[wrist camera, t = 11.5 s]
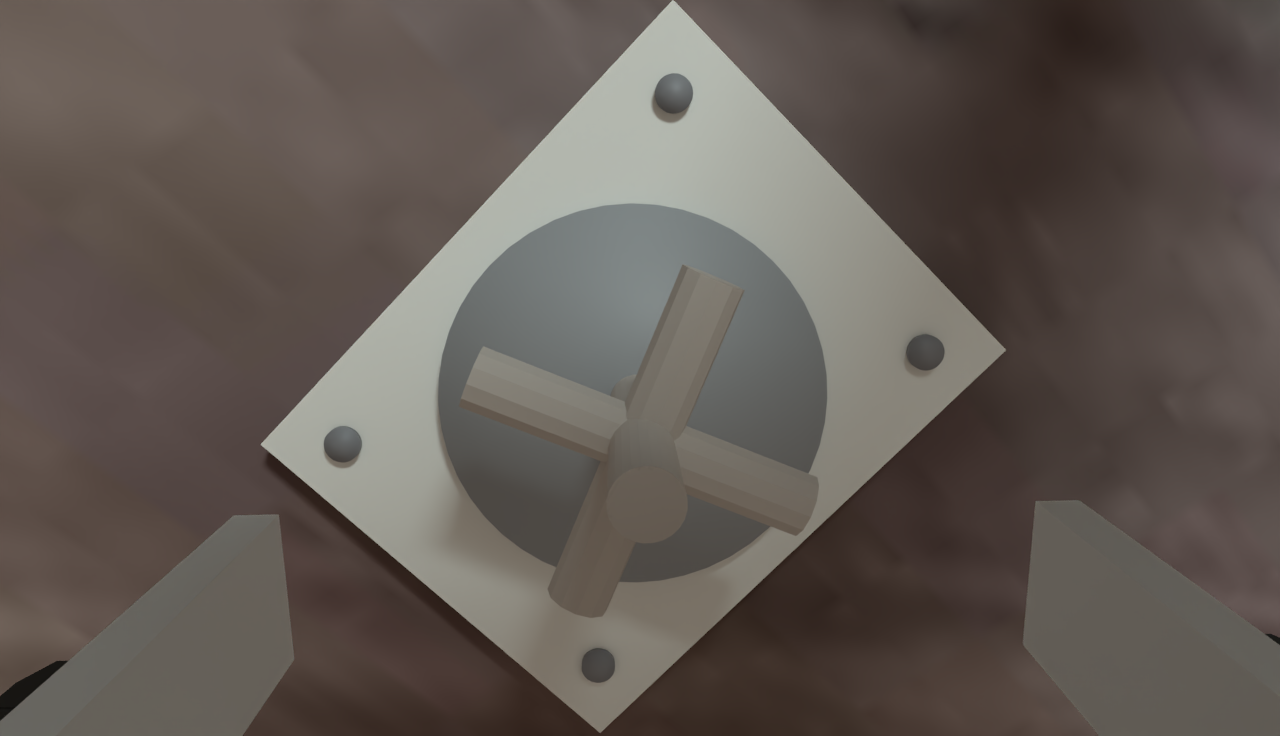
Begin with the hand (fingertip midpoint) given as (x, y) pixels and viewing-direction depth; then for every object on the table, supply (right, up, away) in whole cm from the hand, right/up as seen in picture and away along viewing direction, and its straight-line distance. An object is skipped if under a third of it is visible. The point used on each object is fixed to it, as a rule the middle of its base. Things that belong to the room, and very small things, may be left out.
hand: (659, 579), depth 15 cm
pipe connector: (0, +3, +14) cm, 15 cm away
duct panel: (-1, +3, +16) cm, 16 cm away
